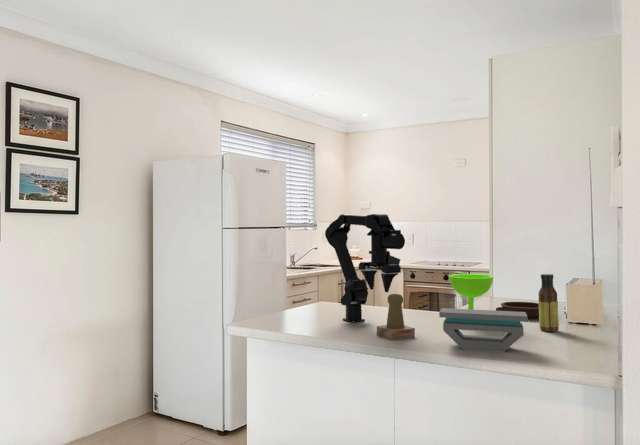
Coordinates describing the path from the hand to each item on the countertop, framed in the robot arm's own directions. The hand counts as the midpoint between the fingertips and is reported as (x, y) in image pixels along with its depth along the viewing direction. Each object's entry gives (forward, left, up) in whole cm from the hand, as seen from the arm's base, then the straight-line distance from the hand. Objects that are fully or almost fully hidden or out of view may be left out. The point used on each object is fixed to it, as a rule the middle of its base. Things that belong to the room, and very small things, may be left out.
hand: (379, 290), depth 192 cm
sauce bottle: (+36, +47, -13) cm, 61 cm away
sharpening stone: (+42, +8, -13) cm, 45 cm away
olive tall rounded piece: (+16, -5, -10) cm, 20 cm away
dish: (+13, +63, -14) cm, 66 cm away
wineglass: (+14, +32, -13) cm, 37 cm away
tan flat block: (+16, -5, -13) cm, 21 cm away
